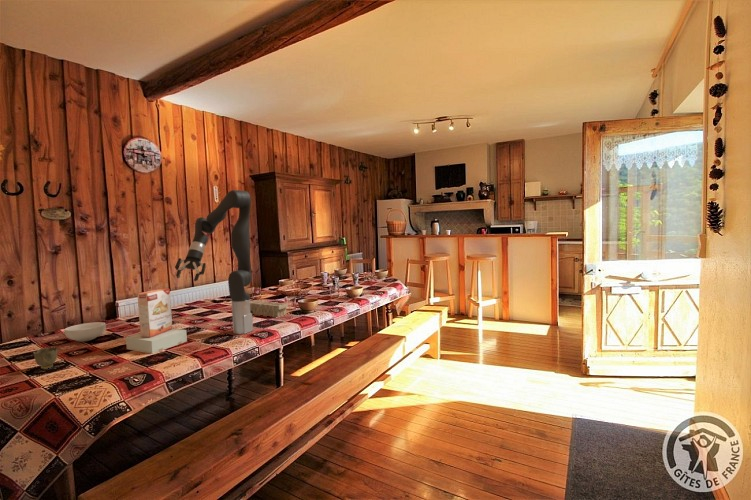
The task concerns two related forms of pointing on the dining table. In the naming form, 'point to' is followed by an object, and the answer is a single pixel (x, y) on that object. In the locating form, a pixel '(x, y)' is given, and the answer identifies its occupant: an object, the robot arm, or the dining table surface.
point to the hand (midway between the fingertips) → (186, 279)
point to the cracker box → (154, 312)
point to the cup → (46, 357)
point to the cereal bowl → (85, 331)
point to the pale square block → (156, 341)
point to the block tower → (268, 308)
